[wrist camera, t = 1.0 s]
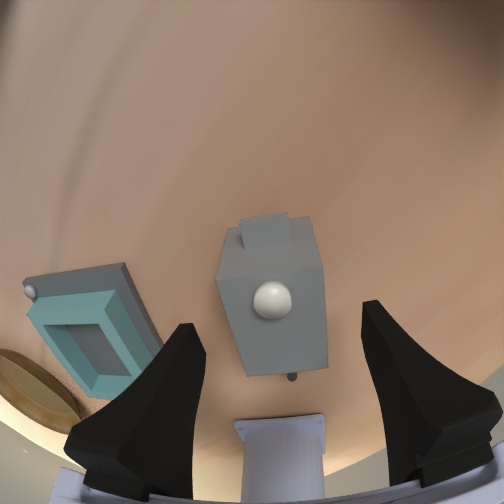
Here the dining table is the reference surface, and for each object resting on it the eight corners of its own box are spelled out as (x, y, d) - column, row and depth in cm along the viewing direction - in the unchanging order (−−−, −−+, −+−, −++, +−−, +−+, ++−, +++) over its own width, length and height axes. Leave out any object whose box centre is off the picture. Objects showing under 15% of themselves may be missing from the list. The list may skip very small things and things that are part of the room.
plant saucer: (-6, 375, 28) (-14, 389, 26) (-20, 311, 21) (-33, 328, 19) (85, 430, 31) (79, 446, 29) (99, 388, 25) (90, 409, 22)
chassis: (188, 388, 23) (183, 413, 21) (97, 385, 24) (88, 405, 22) (124, 262, 17) (107, 287, 15) (26, 277, 18) (8, 297, 16)
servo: (320, 349, 20) (329, 413, 15) (261, 356, 20) (259, 420, 16) (306, 192, 14) (323, 245, 10) (223, 205, 15) (204, 262, 11)
